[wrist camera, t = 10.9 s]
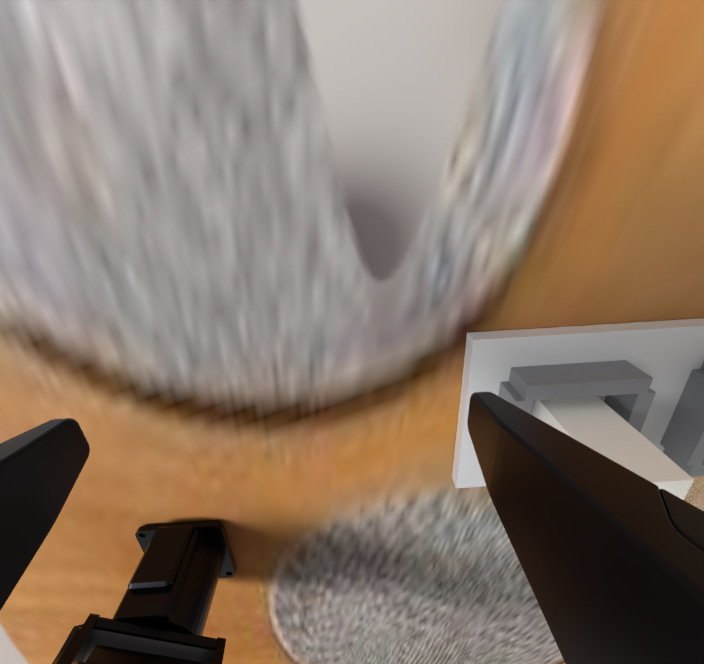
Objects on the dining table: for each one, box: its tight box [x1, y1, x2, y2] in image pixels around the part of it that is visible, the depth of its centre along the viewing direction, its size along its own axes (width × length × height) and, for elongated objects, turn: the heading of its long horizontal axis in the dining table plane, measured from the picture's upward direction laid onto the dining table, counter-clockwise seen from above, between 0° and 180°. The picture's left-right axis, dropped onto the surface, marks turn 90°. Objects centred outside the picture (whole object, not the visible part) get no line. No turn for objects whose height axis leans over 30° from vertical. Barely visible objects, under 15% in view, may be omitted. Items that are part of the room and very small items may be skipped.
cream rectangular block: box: [531, 396, 694, 500], centre depth 19 cm, size 4×4×7 cm
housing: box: [452, 318, 704, 488], centre depth 20 cm, size 12×24×8 cm, turn 93°
